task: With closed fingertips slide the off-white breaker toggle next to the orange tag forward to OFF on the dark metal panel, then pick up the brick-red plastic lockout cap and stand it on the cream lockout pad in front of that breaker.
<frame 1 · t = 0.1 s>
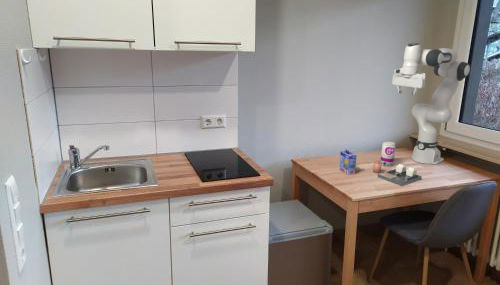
hand: (406, 94, 222), 48 cm above the table, fingers open, 8 cm apart
supplement can: (386, 164, 242), on the table
toggle A: (401, 168, 222), point 4 cm above the table, slide at 0.0 cm
lockout cap: (376, 172, 227), on the table
toggle B: (411, 171, 216), point 5 cm above the table, slide at 0.0 cm
ink cartridge box: (346, 172, 227), on the table
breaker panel: (399, 178, 218), on the table
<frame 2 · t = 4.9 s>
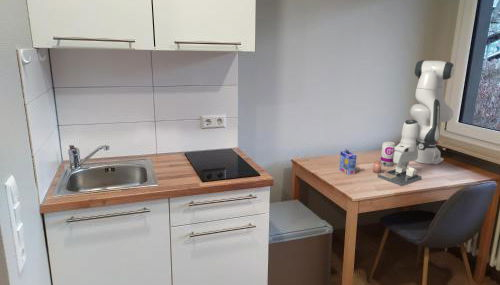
hand: (404, 168, 224), 4 cm above the table, fingers closed
toggle A: (400, 168, 222), point 4 cm above the table, slide at 0.2 cm, touching gripper
everything else where it was.
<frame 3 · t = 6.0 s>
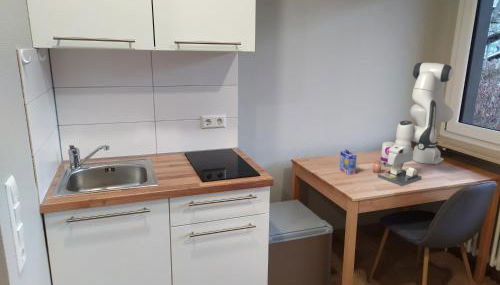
hand: (399, 169, 221), 4 cm above the table, fingers closed
toggle A: (395, 169, 219), point 4 cm above the table, slide at 5.2 cm, touching gripper
everything else where it was.
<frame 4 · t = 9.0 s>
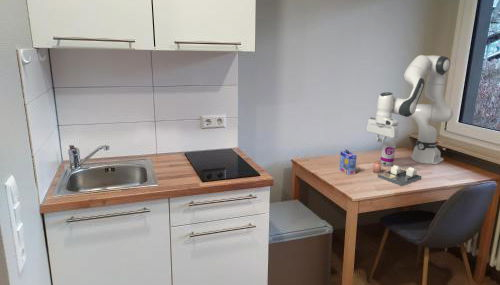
hand: (380, 142, 222), 19 cm above the table, fingers closed
toggle A: (395, 169, 219), point 4 cm above the table, slide at 5.0 cm
everything else where it was.
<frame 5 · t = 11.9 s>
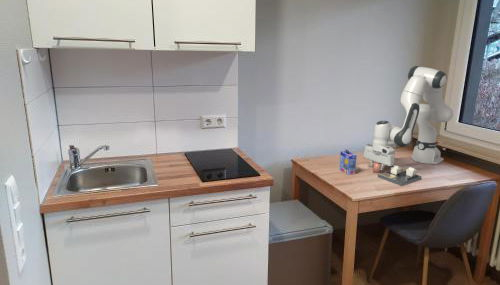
hand: (377, 168, 227), 2 cm above the table, fingers closed on lockout cap, 5 cm apart
lockout cap: (376, 172, 227), on the table, touching gripper
everything else where it was.
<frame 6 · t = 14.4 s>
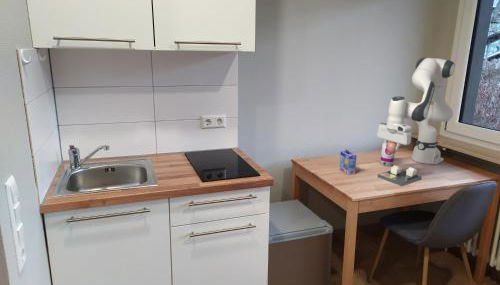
hand: (391, 148, 211), 19 cm above the table, fingers closed on lockout cap, 5 cm apart
lockout cap: (391, 152, 212), point 16 cm above the table, touching gripper
everything else where it was.
when the fingers open (6 cm above the table, at t = 17.0 s): lockout cap drops 1 cm, resting on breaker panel.
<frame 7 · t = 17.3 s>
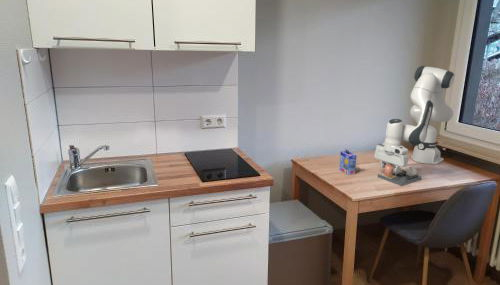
hand: (389, 169, 215), 6 cm above the table, fingers open, 7 cm apart
lockout cap: (388, 175, 216), point 2 cm above the table, touching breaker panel
everything else where it was.
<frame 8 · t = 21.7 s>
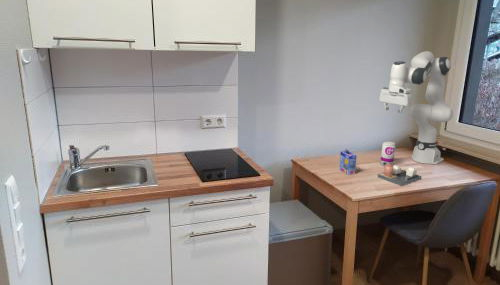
hand: (393, 111, 225), 37 cm above the table, fingers open, 8 cm apart
nothing on the table moved.
at the end: toggle A slide at 5.0 cm; lockout cap inside the target area (0.1 cm from its centre), point 2.3 cm above the table; lockout cap tilted 0° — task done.
